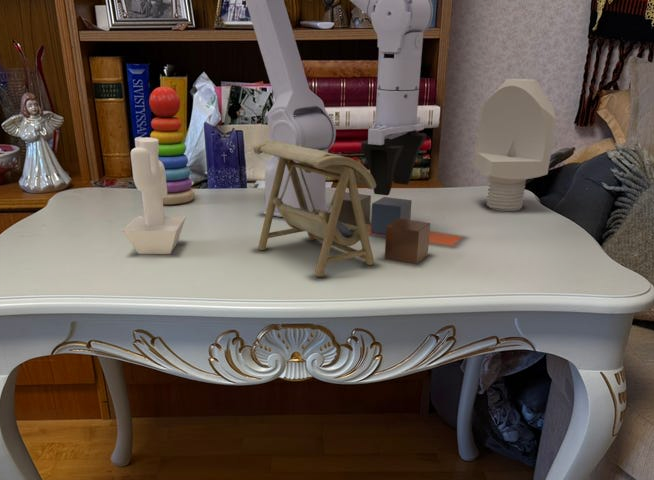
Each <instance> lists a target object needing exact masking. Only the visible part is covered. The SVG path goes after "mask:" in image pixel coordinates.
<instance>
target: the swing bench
mask: <svg viewBox="0 0 654 480" xmlns="http://www.w3.org/2000/svg"><path fill="white" fill-rule="evenodd" d="M252 149H253V152H254V153H255V154H257V155H260V154H261V155H262V154H265V155H269V156H272V157H275V156H276V157H280V158H279V162H278V166H277V170H276V174H275V178H274V182H273V187H272V191H271V195H270V199H269V203H268V207H267V211H266V210H265V211H266V215H265V214H264V220H263V224H262V229H261V233H260V237H259V243H258V250H260V251H265V250H266V249H267V245H268V240H269V239H271V238H277V237H282V236H287V235H293V234H298V233H303V232H306V233H307V236H308V239H309V240H310V241H314V240H318V241H321V242H322V244H321V249H320V253H319V256H318V259H317V264H316V268H315V273H314V274H315V276H316V277H319V278H321V277H323V275H324V273H325V269H326V266H327V264H329V263H333V262H340V261H342V260H348V259H353V258H356V257H358V258H360V259H362V260H364V261H365V264H366V265H367V266H373V265H374V263H375V259H374V255H373V251H372V245H371V242H370V237H369V234H368V233H367V232H368V231H369V230H370V225H369V224H365V219H364V215H363V210H362V206H361V201H360V197H359V194H360V192H359V188H358V184H359V185H360V186H365V188H366V189H368V190H369V189H370V190H373V189H374V188H375V187H376V183H375V180H374V178H373V177H372V175H371V174H370V170H369V169H368V168H367V167H365V166H364V165H363V164H362V163H360V162H359V161H358V160H356V159H353V158H351V157H346V156H342V155H339V154H334V153H330V152H328V153H327V152H324V151H320V150H315V149H310V148H304V147H301V146H296V145H292V144H287V143H283V142H277V141H270V140H269V141H264V142H261V143H258V144H256V145H254V146H253V147H252ZM293 160H295V161H299V162H300V163H296V162H294V161H293ZM286 165H287V168H288V171H289V173H288V177H287V180H286V184H285V187H284V189H283V192H282V195H281V197H280V198H278V195H279V191H280V187H281V183H282V179H283V174H284V170H285V166H286ZM295 167H297V168H299V169H300V172H301V176H302V178H303V181H304V184H305V186H306V189H307V192H308V195H309V198H310V201H311V204H312V207H313V211H312V212H310V211H309V210H308V207H307V203H306V200H305V197H304V193H303V190H302V187H301V184H300V180H299V177H298V173H297V170H296V168H295ZM302 169H304V171H305V172H307V173H311V172H314V173H318V174H321V175H325V176H326V177H329V178H333V179H337V180H338V182H337V185H336V186H335V189H334V193H333V195H332V198H331V201H330V203H329V206H328V207H329V208H328V210H327V212H326V211H320V210H318V209H315V207H314V205H313V201H312V198H311V195H310V192H309V189H308V186H307V184H306V180H305V178H304V175H303V172H302ZM290 177H291V180H292V183H293V187H294V190H295V193H296V196H297V199H298V203H299V206H300V208H294V207H292V206H289V205H287V204H284V203H283V202H282V198H283V196H284V193H285V191H286V188H287V185H288V182H289V178H290ZM347 188H348V193H349V194H350V199H351V202H352V206H353V211H354V215H355V219H356V223H357V226H354V225H350V224H344V223H343V222H340V221H338V217H339V214H340V210H341V206H342V202H343V198H344V194H345V192H346V190H347ZM332 203H333V205H332ZM275 207H276V208H277V209H278V211H279V212H280V214H281V215H282V217H281V218H283V220H284V221H285V222H286V224H287V225H288V226H289V227H290V228H287V229H282V230H277V231H271V232H270V230H271V227H272V223H273V218H274V216H273V215H274V210H275ZM331 207H332V209H331V213H329V210H330V208H331ZM359 241H360V244H361V248H362V249H360V250H359V249H356V248H353V247H351V246H354V245H355V244H357V243H358V242H359ZM331 247H334V248H337V249H339V250H341V251H343V252H345V253H341V254H334V255H330V251H331Z"/></svg>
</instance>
